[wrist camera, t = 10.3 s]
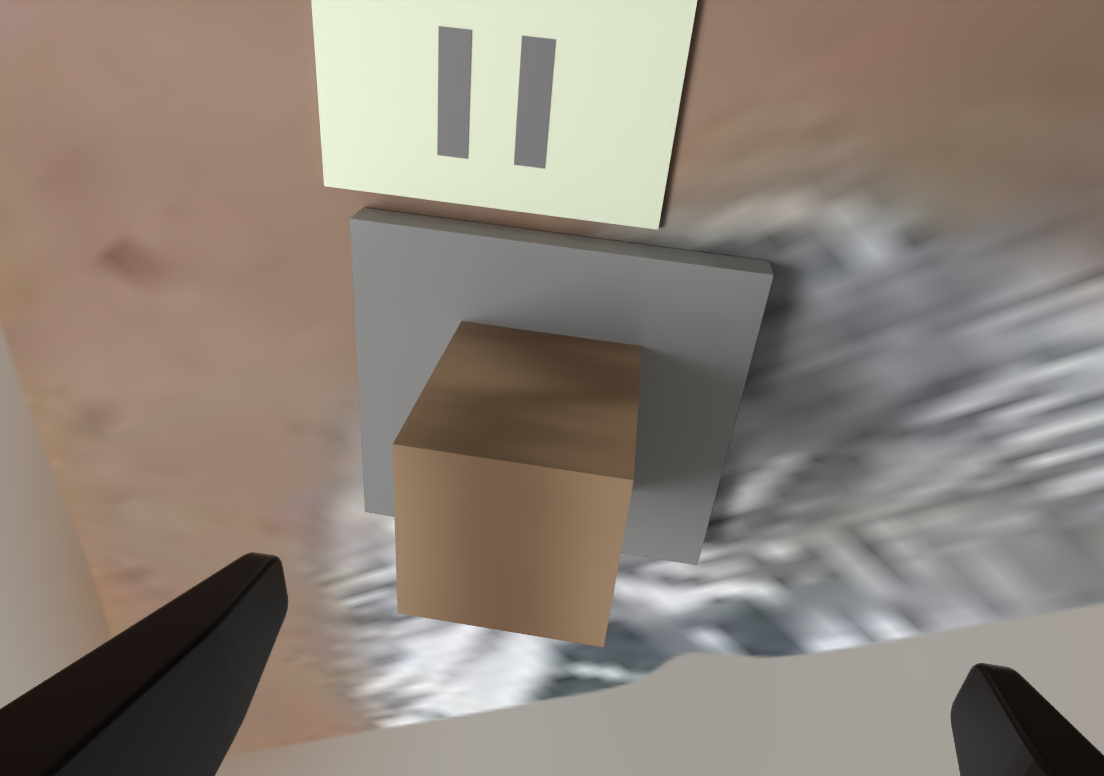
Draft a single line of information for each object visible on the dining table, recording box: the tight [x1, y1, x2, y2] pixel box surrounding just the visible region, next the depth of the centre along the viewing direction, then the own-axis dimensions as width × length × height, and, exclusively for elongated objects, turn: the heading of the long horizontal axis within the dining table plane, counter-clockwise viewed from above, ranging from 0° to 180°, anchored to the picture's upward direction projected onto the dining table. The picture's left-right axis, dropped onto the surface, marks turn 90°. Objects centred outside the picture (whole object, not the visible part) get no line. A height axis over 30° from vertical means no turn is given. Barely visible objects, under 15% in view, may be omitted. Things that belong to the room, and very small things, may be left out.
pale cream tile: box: [312, 0, 697, 230], centre depth 17 cm, size 9×9×1 cm
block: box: [393, 321, 642, 647], centre depth 19 cm, size 5×5×6 cm
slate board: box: [350, 207, 774, 565], centre depth 22 cm, size 11×10×1 cm
